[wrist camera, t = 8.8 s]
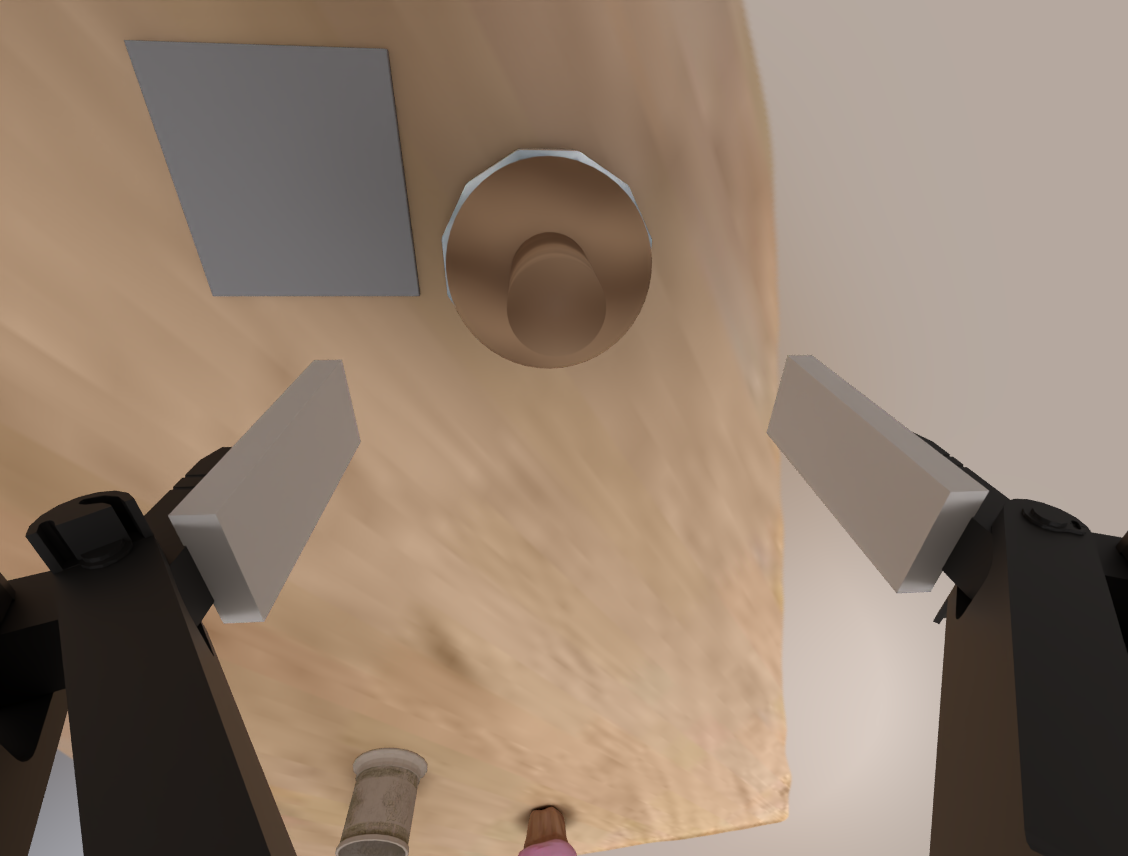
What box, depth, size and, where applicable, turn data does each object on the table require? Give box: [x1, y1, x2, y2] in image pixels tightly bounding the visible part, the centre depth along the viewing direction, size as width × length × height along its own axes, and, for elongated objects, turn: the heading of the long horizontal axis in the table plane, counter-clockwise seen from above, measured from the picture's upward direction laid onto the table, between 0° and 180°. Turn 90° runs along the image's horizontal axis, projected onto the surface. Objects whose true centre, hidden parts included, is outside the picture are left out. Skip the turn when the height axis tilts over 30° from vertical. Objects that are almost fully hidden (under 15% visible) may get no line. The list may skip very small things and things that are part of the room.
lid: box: [446, 156, 652, 368], centre depth 26 cm, size 12×12×8 cm
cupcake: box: [518, 807, 577, 856], centre depth 73 cm, size 9×9×10 cm
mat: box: [124, 40, 420, 296], centre depth 31 cm, size 14×14×1 cm
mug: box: [335, 748, 427, 856], centre depth 63 cm, size 14×10×12 cm
